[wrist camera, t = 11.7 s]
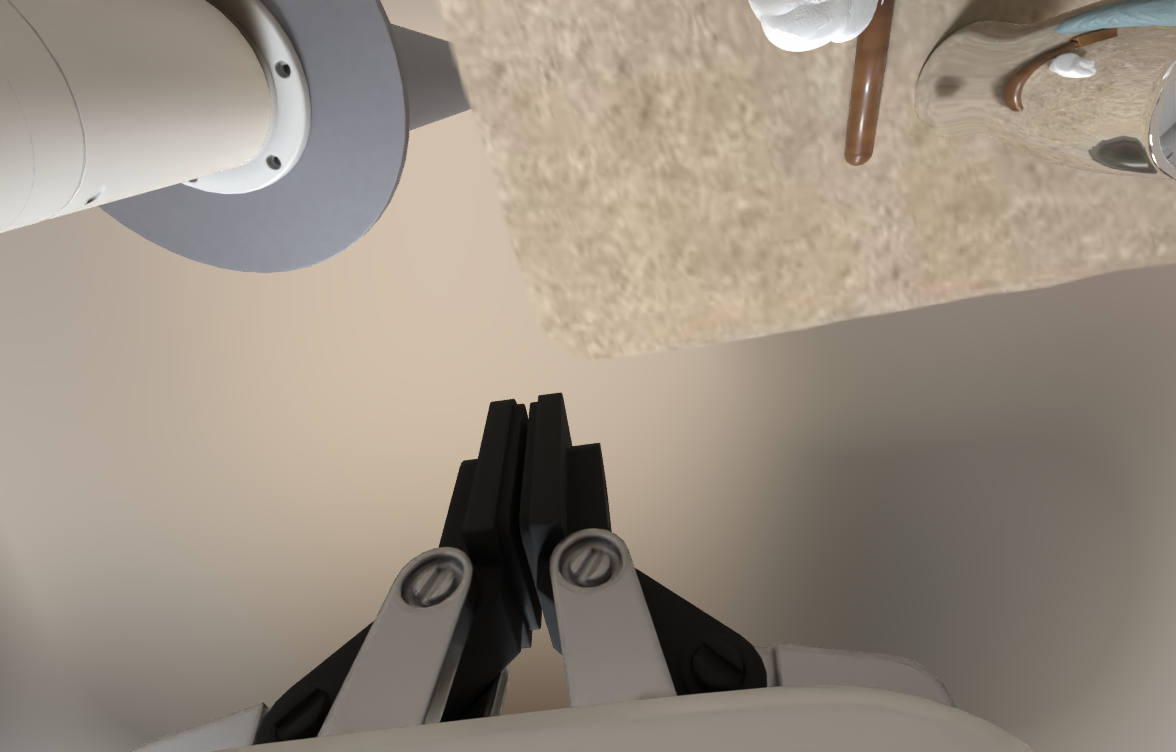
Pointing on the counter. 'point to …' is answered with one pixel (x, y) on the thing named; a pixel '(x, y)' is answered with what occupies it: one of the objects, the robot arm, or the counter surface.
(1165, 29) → the chrome tumbler
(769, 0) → the dumpling
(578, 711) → the robot arm
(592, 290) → the counter surface
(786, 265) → the counter surface
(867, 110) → the wooden spatula
